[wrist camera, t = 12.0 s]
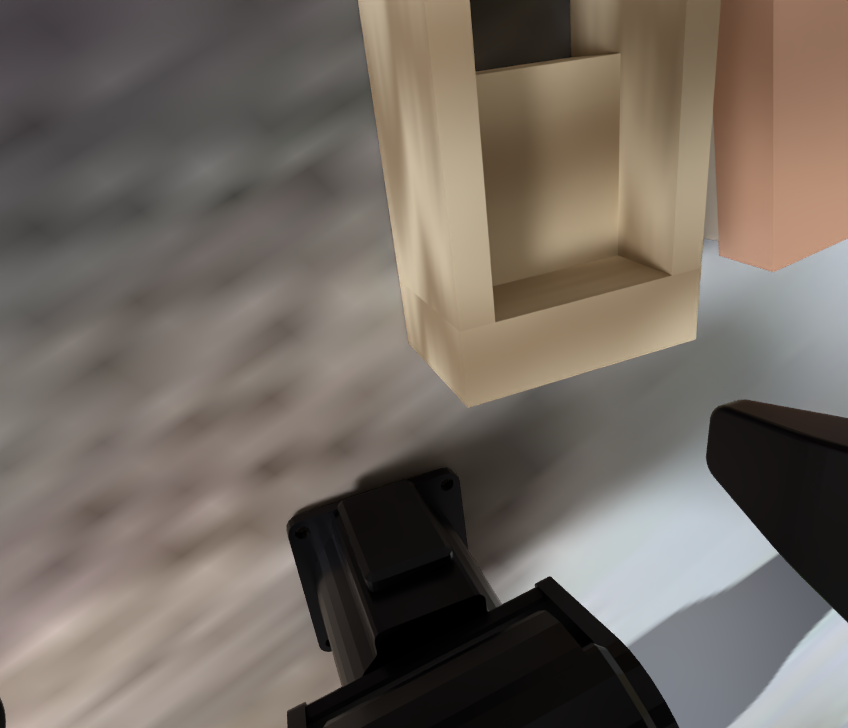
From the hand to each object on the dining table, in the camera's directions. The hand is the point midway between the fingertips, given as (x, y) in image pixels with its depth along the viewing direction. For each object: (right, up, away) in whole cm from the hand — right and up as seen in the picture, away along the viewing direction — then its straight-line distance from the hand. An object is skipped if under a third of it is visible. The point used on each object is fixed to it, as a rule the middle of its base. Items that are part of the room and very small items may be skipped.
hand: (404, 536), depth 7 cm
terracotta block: (+12, +11, +14) cm, 22 cm away
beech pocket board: (+2, +11, +11) cm, 16 cm away
